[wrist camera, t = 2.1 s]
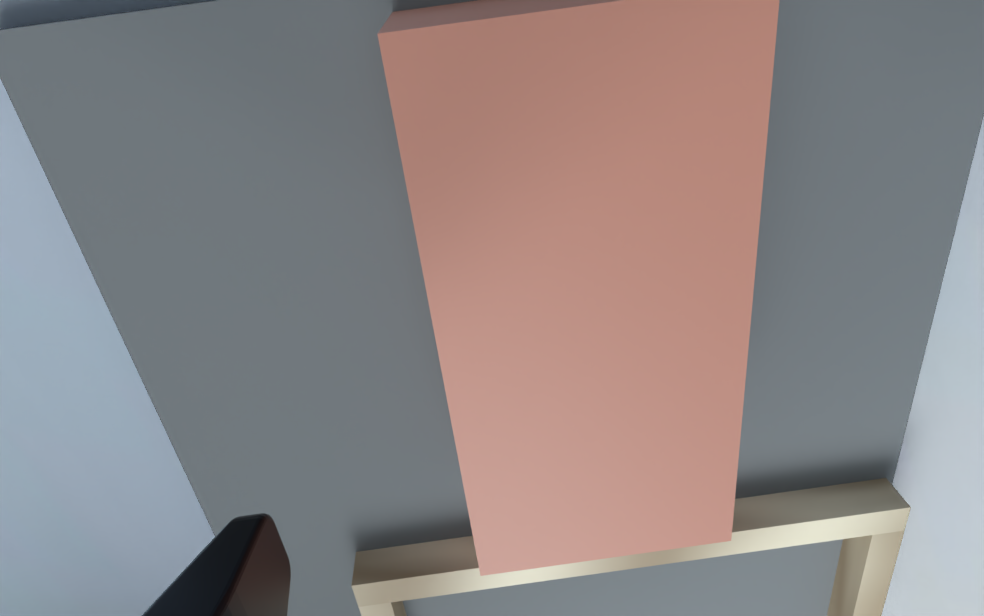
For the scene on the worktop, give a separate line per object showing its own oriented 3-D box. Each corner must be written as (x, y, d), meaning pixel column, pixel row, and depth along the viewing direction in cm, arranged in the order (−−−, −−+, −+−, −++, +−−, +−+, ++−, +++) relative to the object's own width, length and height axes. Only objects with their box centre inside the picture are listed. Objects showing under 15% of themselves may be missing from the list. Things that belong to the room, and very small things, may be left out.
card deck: (473, 469, 16) (480, 575, 13) (392, 11, 11) (377, 33, 8) (682, 440, 16) (731, 540, 13) (697, -30, 11) (781, -22, 8)
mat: (330, 761, 22) (328, 777, 22) (-3, 29, 11) (-21, 32, 10) (828, 690, 22) (836, 705, 22) (1015, -109, 11) (1039, -112, 10)
